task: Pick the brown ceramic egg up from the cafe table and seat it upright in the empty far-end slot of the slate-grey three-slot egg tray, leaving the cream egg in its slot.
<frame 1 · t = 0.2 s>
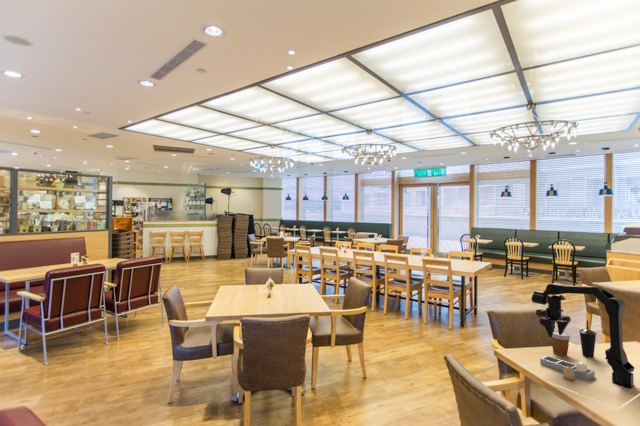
hand: (555, 336, 174), 14 cm above the table, fingers open, 9 cm apart
brown egg: (569, 379, 155), on the table
cream egg: (581, 375, 158), point 1 cm above the table, touching egg tray
egg tray: (566, 371, 164), on the table
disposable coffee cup: (560, 354, 185), on the table
drinking cup: (588, 356, 183), on the table
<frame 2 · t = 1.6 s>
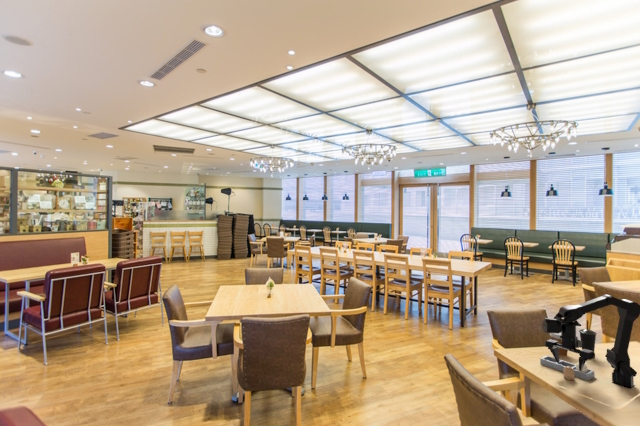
hand: (569, 366, 156), 6 cm above the table, fingers open, 9 cm apart
nothing on the table moved.
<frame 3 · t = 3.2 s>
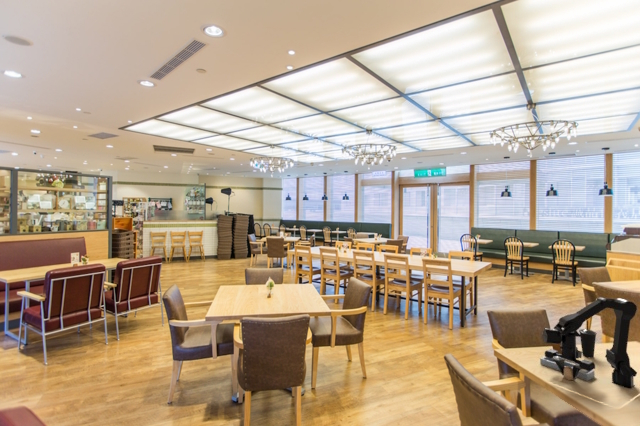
hand: (569, 377, 155), 1 cm above the table, fingers closed on brown egg, 4 cm apart
brown egg: (569, 379, 155), on the table, touching gripper
everything else where it was.
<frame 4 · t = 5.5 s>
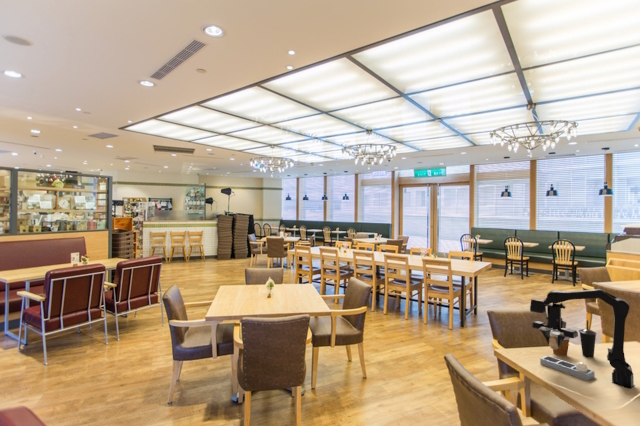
hand: (554, 345, 167), 12 cm above the table, fingers closed on brown egg, 4 cm apart
brown egg: (554, 348, 167), point 11 cm above the table, touching gripper
everything else where it was.
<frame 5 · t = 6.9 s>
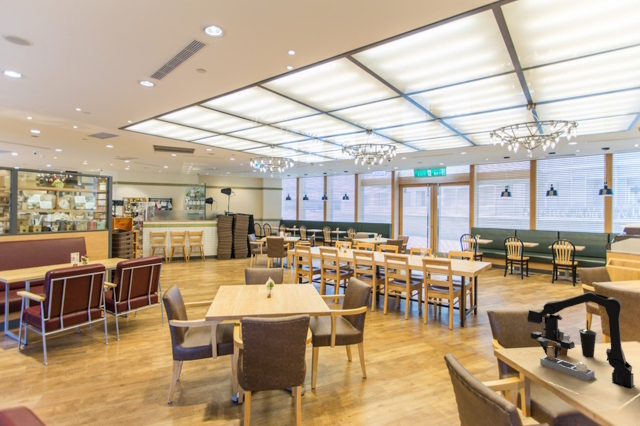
hand: (551, 356, 170), 5 cm above the table, fingers closed on brown egg, 4 cm apart
brown egg: (551, 358, 170), point 4 cm above the table, touching gripper
everything else where it was.
when the fingers open (4 cm above the table, at t = 7.9 s): brown egg drops 2 cm, resting on egg tray.
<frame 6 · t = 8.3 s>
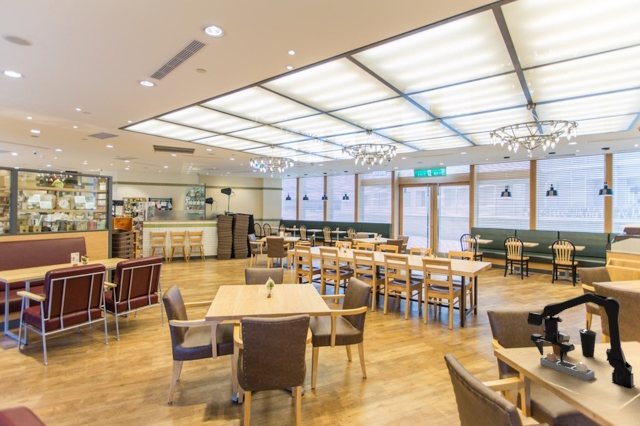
hand: (551, 358, 170), 4 cm above the table, fingers open, 9 cm apart
brown egg: (552, 365, 170), point 1 cm above the table, touching egg tray
everything else where it was.
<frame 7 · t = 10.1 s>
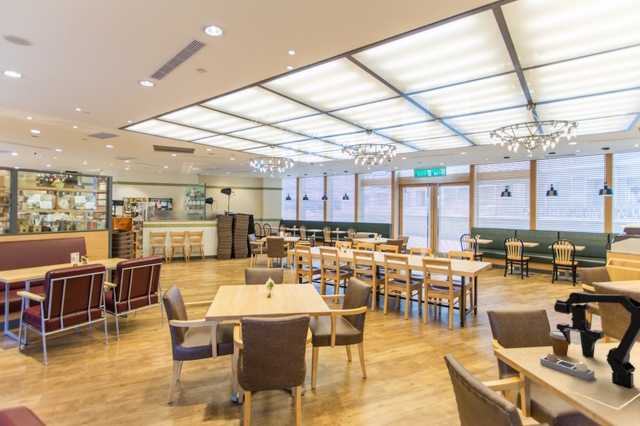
hand: (580, 347, 166), 12 cm above the table, fingers open, 9 cm apart
nothing on the table moved.
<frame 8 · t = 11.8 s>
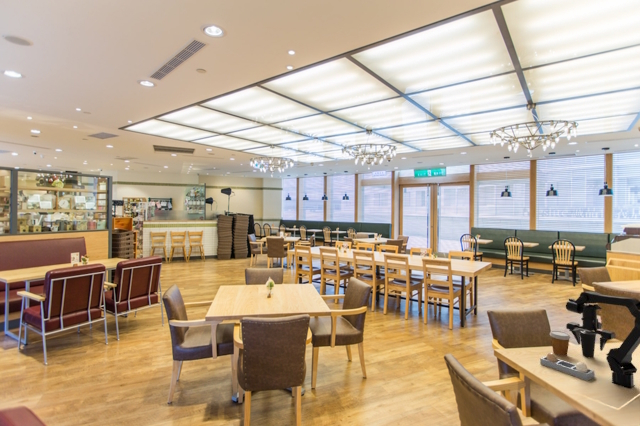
hand: (590, 347, 165), 12 cm above the table, fingers open, 9 cm apart
nothing on the table moved.
at the end: brown egg 0.2 cm from the target spot on the egg tray, point 0.6 cm above the egg tray's base; brown egg tilted 1°; cream egg moved 0.0 cm from its start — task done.
